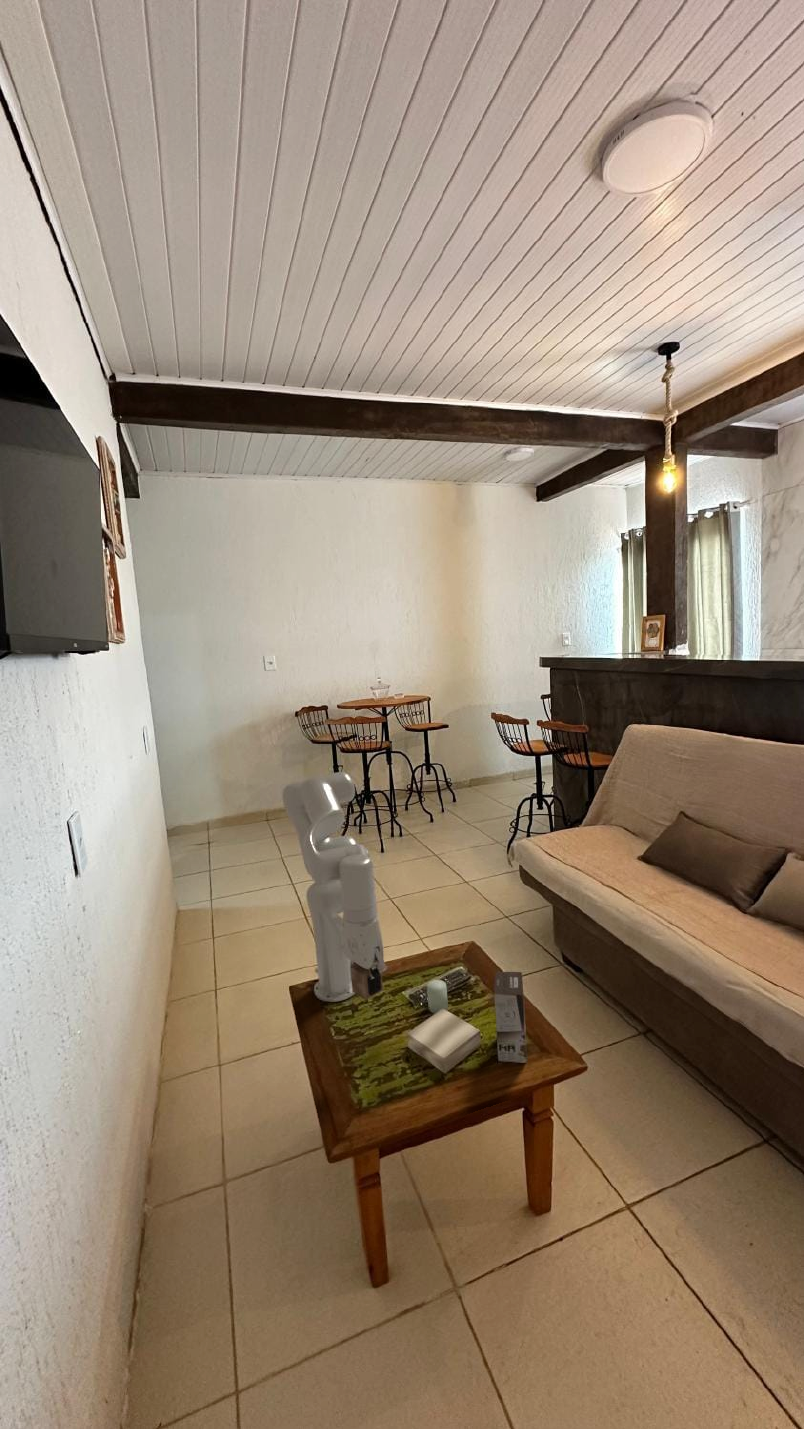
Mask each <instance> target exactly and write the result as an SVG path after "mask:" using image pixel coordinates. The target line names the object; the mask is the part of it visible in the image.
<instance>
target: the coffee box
mask: <svg viewBox="0 0 804 1429" xmlns="http://www.w3.org/2000/svg"><path fill="white" fill-rule="evenodd" d="M523 983H524V981H523V972H522V971H495V972H494V983H493V984H494V985H493V997H494V1011H495V1012H494V1013H495V1027H496V1030H495V1032H496V1042H497V1059H498V1062H506V1063H507V1062H510V1063H521V1064H525V1063H527V1032H526V1031H527V1029H526V1011H525V997H524V995H525V994H524V984H523Z"/></svg>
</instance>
